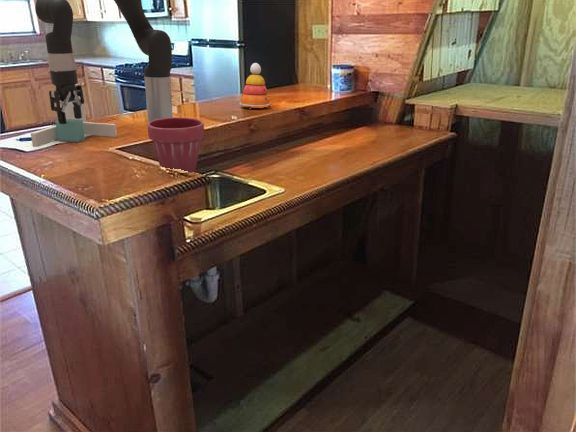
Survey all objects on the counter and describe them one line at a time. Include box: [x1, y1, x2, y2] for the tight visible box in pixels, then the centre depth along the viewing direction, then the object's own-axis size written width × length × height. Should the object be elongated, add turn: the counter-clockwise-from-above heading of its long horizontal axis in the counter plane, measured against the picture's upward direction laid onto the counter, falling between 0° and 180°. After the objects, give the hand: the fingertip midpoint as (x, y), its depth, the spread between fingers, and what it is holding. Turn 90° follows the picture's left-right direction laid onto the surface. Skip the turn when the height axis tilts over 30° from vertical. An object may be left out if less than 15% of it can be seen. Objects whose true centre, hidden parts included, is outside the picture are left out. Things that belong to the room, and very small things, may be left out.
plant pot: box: [147, 116, 205, 173], centre depth 132 cm, size 14×14×13 cm
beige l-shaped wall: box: [30, 121, 118, 147], centre depth 160 cm, size 20×17×4 cm
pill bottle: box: [60, 83, 87, 122], centre depth 178 cm, size 8×8×15 cm
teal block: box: [54, 119, 86, 141], centre depth 161 cm, size 7×4×6 cm, turn 79°
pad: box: [53, 136, 90, 144], centre depth 162 cm, size 6×8×1 cm
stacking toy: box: [239, 62, 272, 107], centre depth 224 cm, size 14×14×20 cm
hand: (70, 121), depth 160 cm, fingers open, 8 cm apart
